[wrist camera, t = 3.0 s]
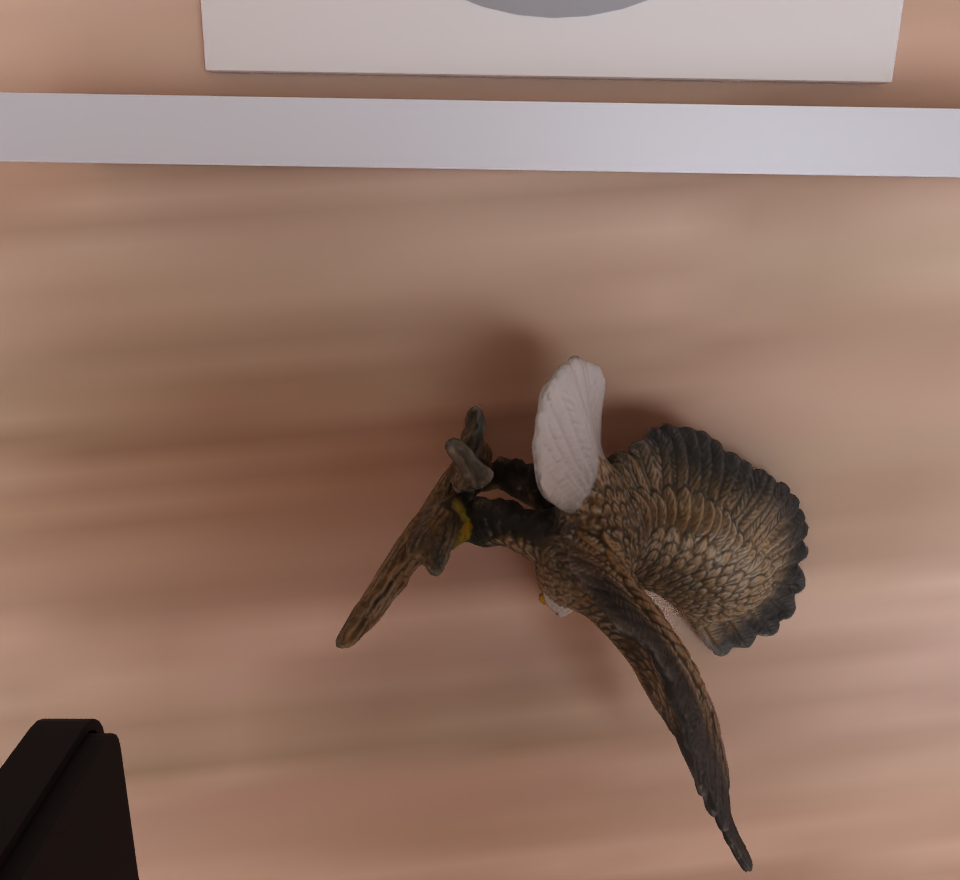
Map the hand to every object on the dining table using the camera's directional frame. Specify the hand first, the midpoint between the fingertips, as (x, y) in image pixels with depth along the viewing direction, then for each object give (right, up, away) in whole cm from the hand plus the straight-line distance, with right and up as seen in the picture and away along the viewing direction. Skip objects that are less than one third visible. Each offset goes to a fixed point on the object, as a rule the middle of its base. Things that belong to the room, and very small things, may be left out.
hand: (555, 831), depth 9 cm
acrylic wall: (+1, +10, +8) cm, 13 cm away
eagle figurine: (+2, +2, +11) cm, 11 cm away
